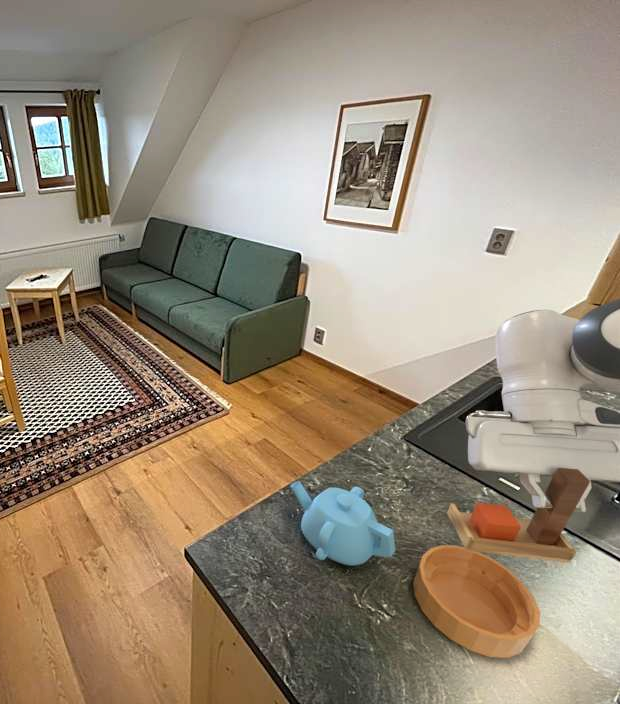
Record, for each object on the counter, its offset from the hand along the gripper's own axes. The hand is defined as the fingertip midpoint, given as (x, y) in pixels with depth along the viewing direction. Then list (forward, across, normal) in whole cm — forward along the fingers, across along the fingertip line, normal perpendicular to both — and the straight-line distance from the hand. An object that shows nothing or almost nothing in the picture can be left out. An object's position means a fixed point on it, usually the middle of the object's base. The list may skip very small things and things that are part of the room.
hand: (559, 509), depth 57 cm
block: (+4, -6, +5) cm, 9 cm away
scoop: (+5, -4, +6) cm, 9 cm away
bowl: (+17, -7, +13) cm, 23 cm away
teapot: (+10, -26, +20) cm, 35 cm away
